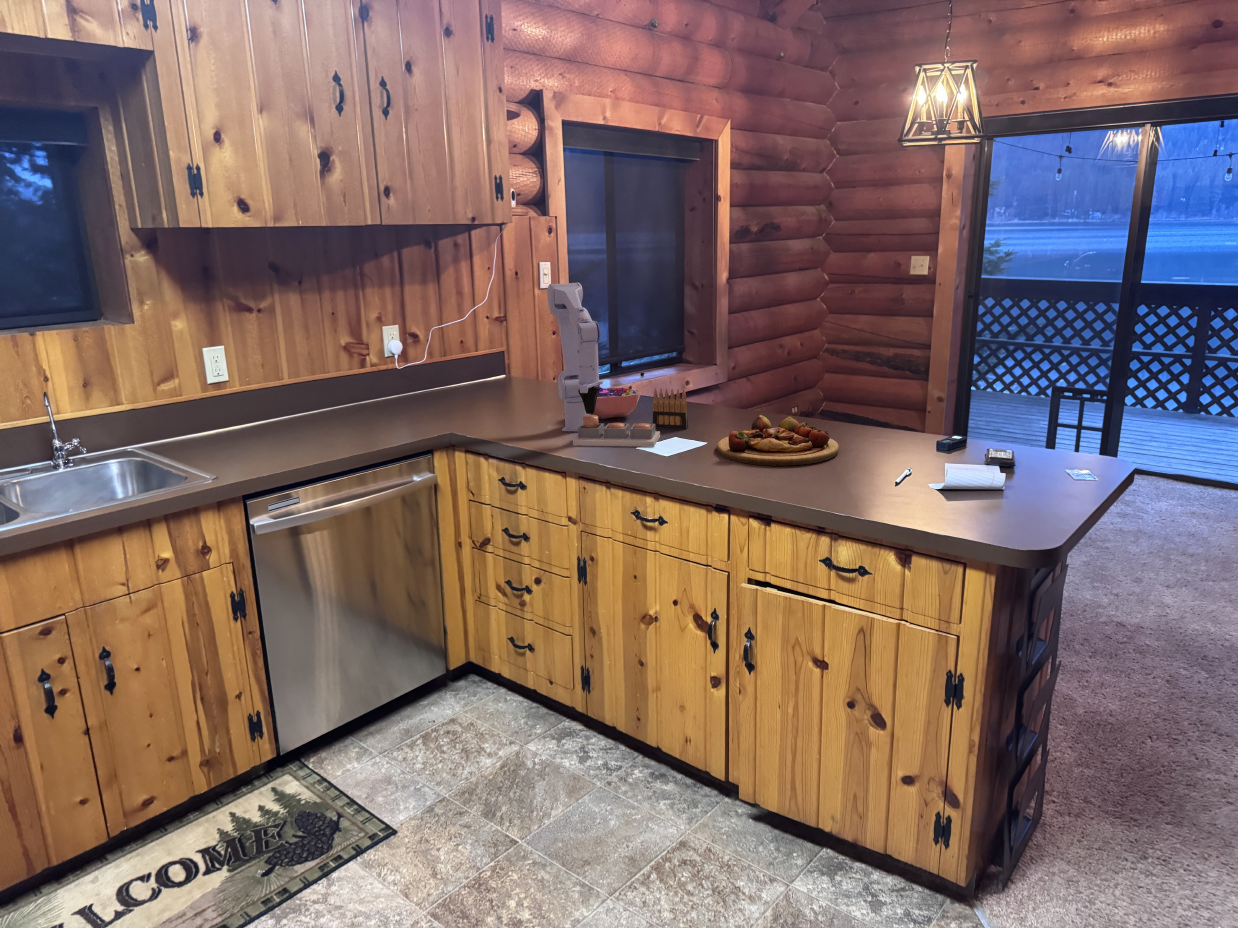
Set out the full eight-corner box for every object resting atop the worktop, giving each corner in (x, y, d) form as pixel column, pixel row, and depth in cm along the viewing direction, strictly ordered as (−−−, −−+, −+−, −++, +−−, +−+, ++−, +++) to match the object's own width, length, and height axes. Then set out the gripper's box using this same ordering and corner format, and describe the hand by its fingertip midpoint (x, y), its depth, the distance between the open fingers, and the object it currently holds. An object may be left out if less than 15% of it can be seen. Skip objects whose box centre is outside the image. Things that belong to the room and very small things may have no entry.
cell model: (641, 423, 266) (640, 387, 263) (577, 424, 267) (575, 388, 264) (641, 411, 283) (640, 377, 280) (580, 413, 283) (579, 379, 280)
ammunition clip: (652, 427, 259) (651, 388, 256) (654, 426, 261) (653, 387, 258) (686, 429, 256) (686, 389, 253) (688, 428, 257) (687, 388, 254)
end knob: (585, 425, 248) (584, 414, 247) (600, 425, 247) (599, 415, 246) (581, 429, 244) (581, 418, 243) (596, 429, 243) (596, 418, 242)
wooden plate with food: (739, 473, 211) (739, 440, 209) (702, 443, 241) (701, 414, 239) (860, 462, 217) (861, 430, 214) (809, 434, 247) (810, 406, 245)
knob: (636, 434, 246) (636, 423, 245) (651, 434, 245) (651, 423, 244) (634, 437, 241) (633, 426, 240) (649, 438, 241) (649, 426, 240)
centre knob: (610, 433, 247) (610, 422, 246) (625, 433, 246) (625, 422, 245) (607, 437, 243) (607, 426, 242) (623, 437, 242) (622, 426, 241)
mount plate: (582, 435, 253) (582, 421, 252) (660, 436, 248) (659, 421, 247) (572, 445, 241) (572, 430, 240) (653, 446, 237) (653, 431, 236)
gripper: (596, 370, 233) (598, 419, 237) (607, 361, 247) (609, 408, 250) (571, 370, 234) (573, 418, 238) (583, 361, 248) (585, 408, 252)
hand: (590, 413), depth 244 cm, fingers closed
